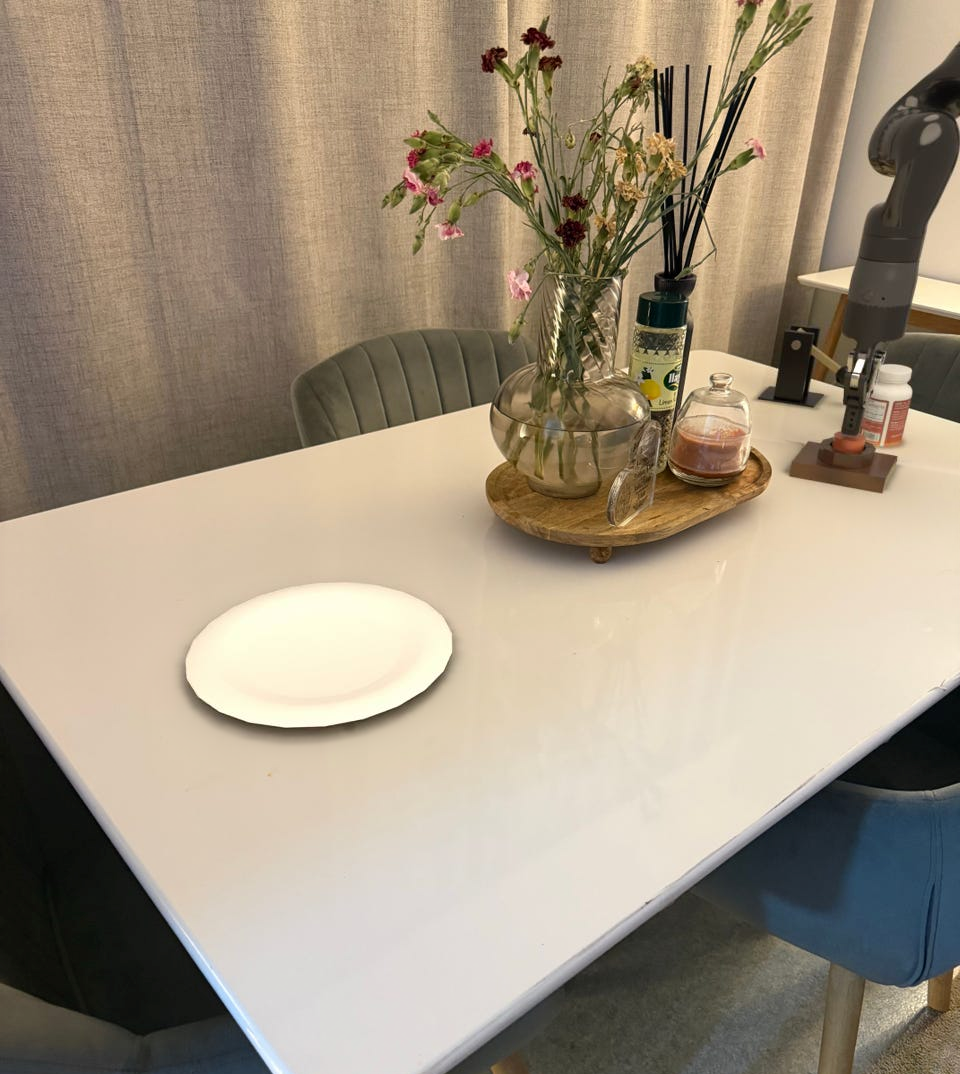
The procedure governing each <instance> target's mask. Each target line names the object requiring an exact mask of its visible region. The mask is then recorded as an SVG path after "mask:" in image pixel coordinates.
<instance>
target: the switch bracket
mask: <svg viewBox="0 0 960 1074" xmlns="http://www.w3.org/2000/svg"><path fill="white" fill-rule="evenodd" d="M800 328H801V329H803V330H804V331H805V332H801V331H797V330H798V329H800ZM820 332H821V327H820V326H812V325H803V324H792V325H790V329H785V330H784V331H783V338H782V344H781V350H780V357H779V362H778V369H777V375H776V379H775V380H776V381H775V386H774V385H773V386H772V385H768V387H767V388H766V389H764V390H763V391H762V393H761V394H760V395H759V396H757V400H759V401H766V402H772V403H779V404H787V405H791V406H793V405H794V406H800V407H805V408H813V409H814V408H815V407H816V406H817V404H819V402H820V401H821V400H822V399H823V397H825V393H821V392H813V391H810V388H811V387H810V386H811V381H812V376H813V371H814V365H815V360H816V358H815V357H814V356H812V355H811V350H812V345H814V346H815V347H816V348H818V344H819V338H820V334H821V333H820ZM813 339H814V340H813Z"/></svg>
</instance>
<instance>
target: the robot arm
mask: <svg viewBox="0 0 960 1074" xmlns="http://www.w3.org/2000/svg"><path fill="white" fill-rule="evenodd" d="M959 118H960V40H959V41H958V42H957V43H956V44H955V45H954V47H953V48H952V49H951V50H950V52H949V53H948V55H946V57H945V58H944V60H943V61H942V62H941V63H940V64H939V65H937V66H936V67H935V68H934V69H933V70H932V71H930V72H929V73H928V74H926V75H925V76H924V77H922V79H920V80H918V82H917V83H915V85H914V86H912V87H911V88H910V89H909V90H908V91H907V92H906V93H905V94H904V95H902V96H901V97H900V98H898V100H897V101H896V102H895V103H893V105H892V106H891V107H890V108H889V109H887V111H886V112H885V113H884V114H883V116H882V117H881V118H880V120H879V121H878V122H877V124H876V126H875V128H874V129H873V130H872V133H871V136H870V138H869V143H868V145H867V158H868V162H869V165H870V166H871V168H872V169H873V170H874V171H875V172H876V173H878V174H880V175H881V176H884V177H888V178H893V181H892V184H891V187H890V190H889V191H888V195H887V197H886V199H885V201H882V202H879V203H876V204H874V205H873V206H871V208H870V209H868V212H867V214H866V216H865V220H864V223H863V228H862V234H861V238H860V245H859V248H858V253H857V258H856V261H855V264H854V267H853V270H852V273H851V276H850V282H849V285H848V286H849V287H848V291H847V297H846V302H845V307H844V311H843V316H842V321H841V326H840V332H841V335H843V336H844V337H846V338H848V339H850V340H851V339H853V340H854V341H855V342H856V345H855V346H854V347H853V348H852V351H849V353H848V356H847V361H846V365H847V367H848V371H847V372H846V374H845V375H844V386H843V397H842V405H843V406H844V407H845V410H844V415H843V420H842V425H841V429H840V431H841V432H842V433H843V434H847V435H853V436H856V435H857V434H858V433H859V432H860V430H861V426H862V421H863V417H864V412H865V408H866V406H867V404H868V402H869V401H870V398H869V397H871V395H872V394H873V391H874V390H873V389H874V386H875V385H876V384H877V381H878V377H879V373H880V368H881V365H884V363H885V360H886V356H887V350H882V349H883V345H884V343H885V344H888V343H894V342H895V343H896V342H898V341H901V340H902V339H903V338H904V337H905V335H906V330H907V326H908V322H909V317H910V314H911V309H912V305H913V301H914V300H913V299H914V295H915V292H916V288H917V282H918V278H919V269H920V262H921V257H922V253H923V249H924V245H925V241H926V235H927V230H928V225H929V223H930V220H931V218H932V216H933V214H934V212H935V211H936V209H937V207H938V205H939V203H940V201H941V198H942V196H943V194H944V192H945V191H946V188H947V186H948V184H949V181H950V180H951V177H952V175H953V173H954V170H955V168H956V165H957V162H958V159H959V157H960V155H959V154H960V126H959V123H958V122H957V119H959Z"/></svg>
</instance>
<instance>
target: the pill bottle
mask: <svg viewBox="0 0 960 1074" xmlns="http://www.w3.org/2000/svg"><path fill="white" fill-rule="evenodd" d="M912 374H913V370H912V368H911V367H909V366H906V365H903V364H896V363H895V364H893V363H885V364H884V363H883V364H882V365H881V368H880V373H879V377H878V381H877V384H876V385H875V386H874V389H873V390H874V391H873V394H872V395H871V397H869V398H870V401H869V402H868V404H867V406H866V408H865V412H864V417H863V421H862V426H861V430H860V432H859V433H860V434H863V435H864V436H865V437H866V440H865V441H866V442H869V443H871V444H872V445H873V446H877V447H892V446H897V445H899V444H901V443H902V440H903V436H904V431H905V427H906V423H907V418H908V416H909V415H908V414H909V410H910V406H911V402H912V397H913V388H912V387H911V385H909V384H908V382H909V381H911V378H912Z"/></svg>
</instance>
